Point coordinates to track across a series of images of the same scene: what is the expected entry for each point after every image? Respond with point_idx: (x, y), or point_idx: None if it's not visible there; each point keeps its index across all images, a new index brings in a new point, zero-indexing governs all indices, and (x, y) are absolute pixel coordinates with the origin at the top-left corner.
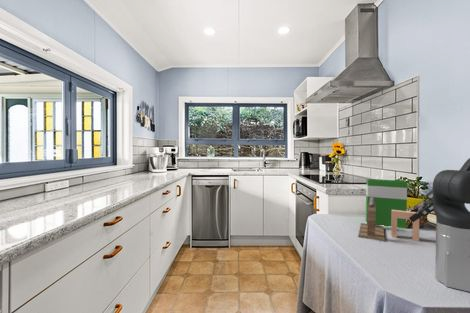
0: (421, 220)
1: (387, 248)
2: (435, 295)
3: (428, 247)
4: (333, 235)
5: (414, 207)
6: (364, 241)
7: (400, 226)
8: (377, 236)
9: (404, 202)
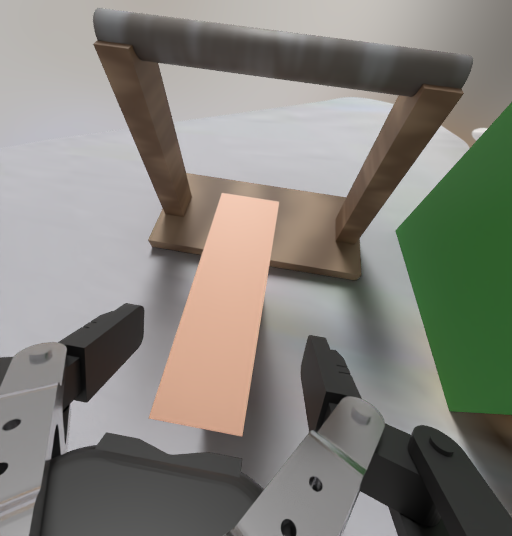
0: None
1: (71, 240)
2: None
3: (106, 426)
4: None
5: (382, 424)
6: (136, 189)
7: (445, 376)
8: (172, 222)
9: None
